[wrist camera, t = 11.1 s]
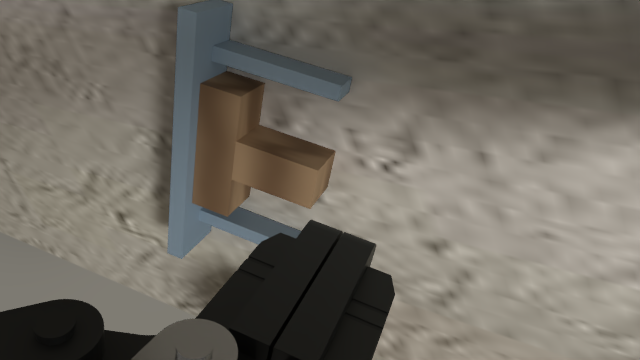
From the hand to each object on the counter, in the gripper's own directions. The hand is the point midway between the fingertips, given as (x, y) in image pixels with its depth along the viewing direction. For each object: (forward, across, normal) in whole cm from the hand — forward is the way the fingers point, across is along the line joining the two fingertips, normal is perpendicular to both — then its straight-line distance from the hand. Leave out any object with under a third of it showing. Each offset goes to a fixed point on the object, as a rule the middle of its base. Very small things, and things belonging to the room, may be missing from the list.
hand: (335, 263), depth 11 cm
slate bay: (+27, +13, +13) cm, 33 cm away
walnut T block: (+27, +12, +13) cm, 33 cm away
